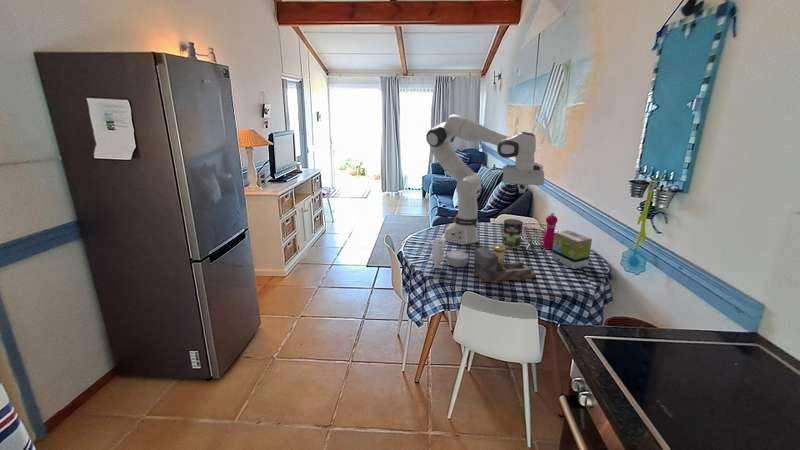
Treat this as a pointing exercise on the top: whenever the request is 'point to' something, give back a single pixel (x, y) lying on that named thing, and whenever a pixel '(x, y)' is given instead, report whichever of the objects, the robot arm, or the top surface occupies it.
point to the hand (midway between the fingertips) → (521, 192)
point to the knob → (499, 256)
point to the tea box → (571, 249)
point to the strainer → (438, 252)
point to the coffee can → (512, 233)
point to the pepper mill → (549, 231)
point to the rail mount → (488, 265)
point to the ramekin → (457, 258)
